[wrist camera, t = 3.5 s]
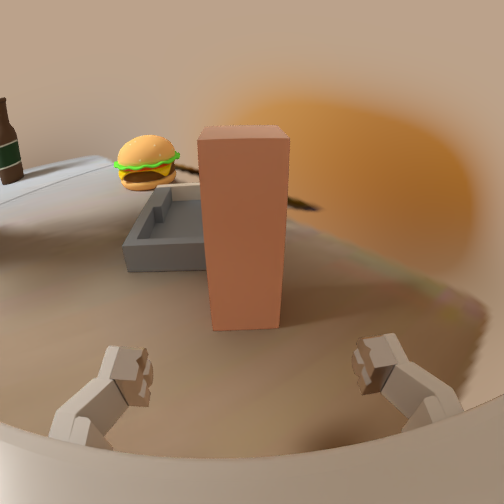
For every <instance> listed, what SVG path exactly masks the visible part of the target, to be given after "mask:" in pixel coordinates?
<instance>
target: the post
mask: <svg viewBox="0 0 504 504" xmlns="http://www.w3.org/2000/svg"><path fill="white" fill-rule="evenodd" d="M197 144H198V160H199V161H198V163H199V180H200V195H201V209H202V222H203V235H204V247H205V258H206V269H207V279H208V289H209V299H210V308H211V317H212V326H213V331H224V330H252V329H272V328H279V320H280V307H281V294H282V280H283V266H284V250H285V234H286V217H287V198H288V177H289V153H290V138H289V137H288V136H287V135H286V134H285V133H284V132H283V131H282V130H281V129H280V128H279V127H278V126H277V125H241V126H240V125H239V126H209V127H204V129H203V131H202V132H201V134H200V136H199V138H198V140H197Z"/></svg>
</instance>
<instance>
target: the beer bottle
mask: <svg viewBox="0 0 504 504" xmlns="http://www.w3.org/2000/svg"><path fill="white" fill-rule="evenodd" d="M22 177H24V174H23V168H22V162H21V157H20V152H19V146H18V139H17V135H16V132H15V130H14V128H13V127H12V126H11V125H10V123H9V120H8V114H7V109H6V98H5V97H4V98H0V178H1V181H2V184H3V185H6V184H10V183H13V182H15V181H17V180H19V179H21V178H22Z"/></svg>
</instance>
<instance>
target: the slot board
mask: <svg viewBox="0 0 504 504" xmlns="http://www.w3.org/2000/svg"><path fill="white" fill-rule="evenodd" d="M122 249H123V253H124V257H125V262H126V266H127V270H128V272H150V271H188V270H207V269H206V258H205V247H204V235H203V222H202V209H201V195H200V182H199V183H179V184H163V185H157V187H156V188H155V190H154V192H153V193H152V195H151V196H150V198H149V200H148V201H147V203H146V205H145V206H144V208H143V210H142V211H141V213H140V215H139V217H138V218H137V220H136V222H135V223H134V225H133V227H132V229H131V230H130V232H129V234H128V236H127V238H126V239H125V241H124V243H123V245H122Z"/></svg>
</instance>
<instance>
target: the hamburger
mask: <svg viewBox="0 0 504 504" xmlns="http://www.w3.org/2000/svg"><path fill="white" fill-rule="evenodd" d="M179 157H180V153H177V152H176V151H175V150H174V147H173V145H172V144H171V142H170V141H169V140H167V139H165V138H163V137H160V136H155V135H144V136H139V137H136V138H134V139H132V140H131V141H129V142H127V143H126V144H125V145H124V146H123V147H122V148H121V150H120V152H119V156H118V161H117V162H114V167H115V168H118V169H119V177H120V179H121V182H122V184H123V186H124V187H125V188H127V189H129V190H135V191H143V190H151V189H155V188H156V187H157V185H163V184H169V183H171V182H172V181H173V180H174V179H175V176H176V171H175V164H174V161H175V159H179Z"/></svg>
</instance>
